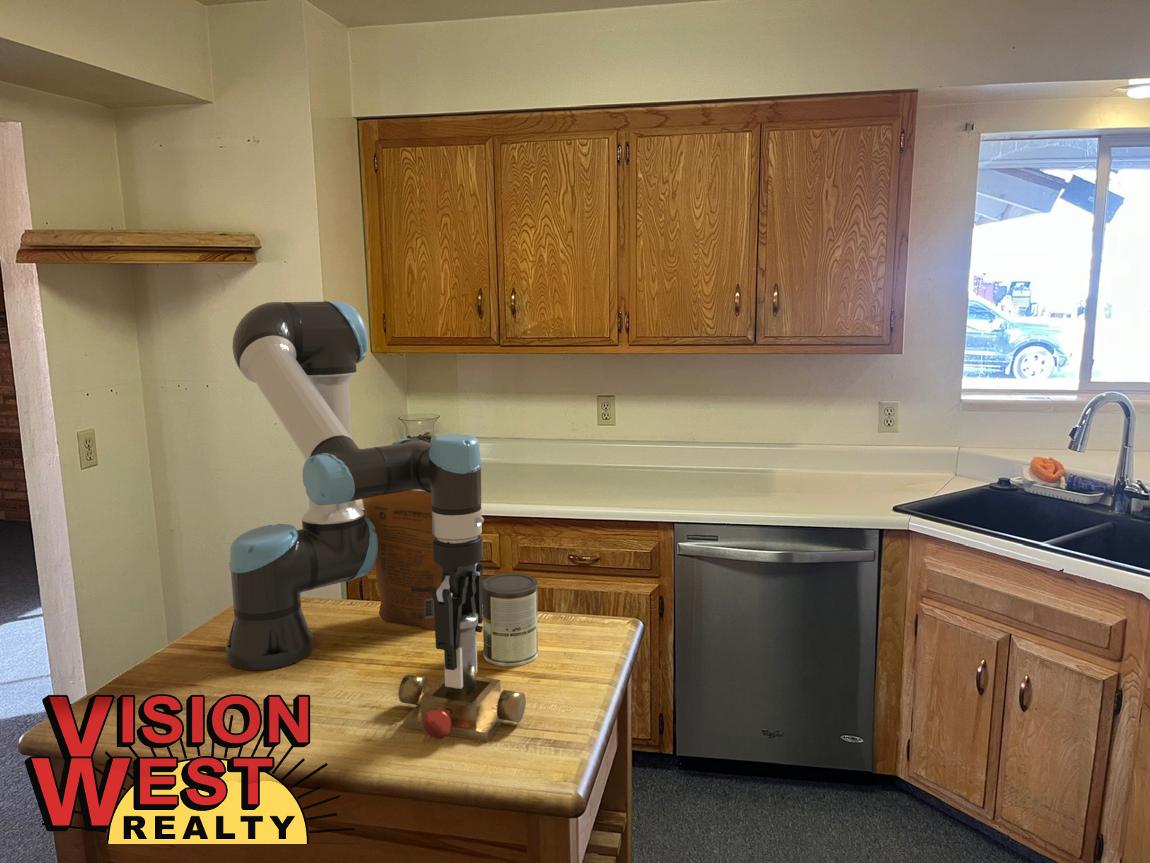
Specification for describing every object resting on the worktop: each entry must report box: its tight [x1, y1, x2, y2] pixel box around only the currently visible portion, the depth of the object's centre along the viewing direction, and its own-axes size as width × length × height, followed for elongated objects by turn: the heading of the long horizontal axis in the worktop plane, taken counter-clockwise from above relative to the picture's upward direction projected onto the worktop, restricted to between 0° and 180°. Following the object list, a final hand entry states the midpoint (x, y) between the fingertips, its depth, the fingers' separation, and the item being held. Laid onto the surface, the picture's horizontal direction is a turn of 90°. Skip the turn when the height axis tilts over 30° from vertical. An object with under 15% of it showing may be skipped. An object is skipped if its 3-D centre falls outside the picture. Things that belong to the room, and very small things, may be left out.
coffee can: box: [482, 572, 539, 667], centre depth 150 cm, size 10×10×14 cm
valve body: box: [398, 674, 527, 743], centre depth 128 cm, size 20×15×5 cm
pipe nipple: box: [447, 611, 479, 696], centre depth 127 cm, size 6×6×12 cm
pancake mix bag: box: [361, 489, 442, 630], centre depth 163 cm, size 7×19×28 cm, turn 67°
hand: (461, 678), depth 128 cm, fingers closed on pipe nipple, 5 cm apart
